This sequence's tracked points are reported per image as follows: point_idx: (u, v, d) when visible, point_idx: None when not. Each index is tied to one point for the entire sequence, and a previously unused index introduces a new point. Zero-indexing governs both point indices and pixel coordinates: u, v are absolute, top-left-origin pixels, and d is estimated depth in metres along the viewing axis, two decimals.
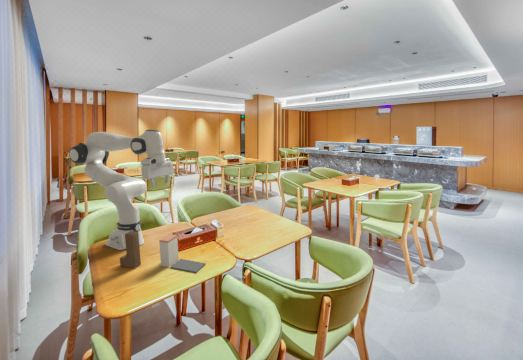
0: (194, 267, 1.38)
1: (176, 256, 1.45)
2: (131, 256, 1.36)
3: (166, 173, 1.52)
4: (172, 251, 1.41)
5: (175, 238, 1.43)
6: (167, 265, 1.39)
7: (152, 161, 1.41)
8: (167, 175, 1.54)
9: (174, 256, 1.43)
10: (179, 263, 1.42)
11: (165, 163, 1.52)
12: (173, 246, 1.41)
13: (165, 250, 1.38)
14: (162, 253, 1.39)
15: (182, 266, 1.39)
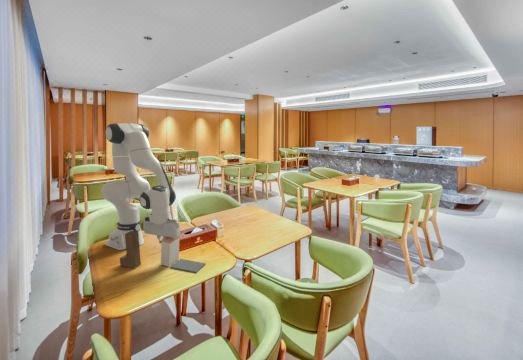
0: (194, 267, 1.38)
1: (177, 256, 1.45)
2: (131, 256, 1.36)
3: (165, 235, 1.39)
4: (173, 251, 1.41)
5: (177, 238, 1.42)
6: (167, 265, 1.39)
7: (146, 219, 1.39)
8: None
9: (175, 256, 1.43)
10: (179, 263, 1.42)
11: (165, 224, 1.38)
12: (175, 246, 1.41)
13: (166, 250, 1.38)
14: (163, 253, 1.39)
15: (182, 266, 1.39)
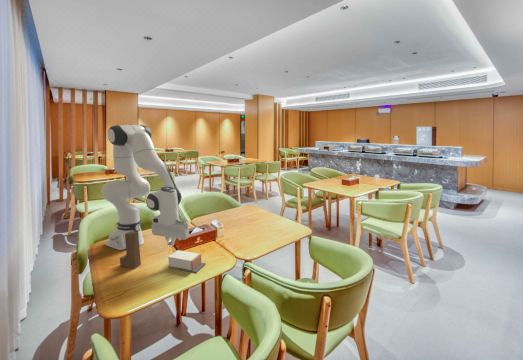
0: None
1: None
2: (131, 256, 1.36)
3: (174, 236, 1.37)
4: None
5: None
6: (169, 264, 1.39)
7: (154, 220, 1.37)
8: (171, 237, 1.39)
9: None
10: None
11: (174, 226, 1.36)
12: None
13: (183, 265, 1.36)
14: (179, 261, 1.36)
15: None
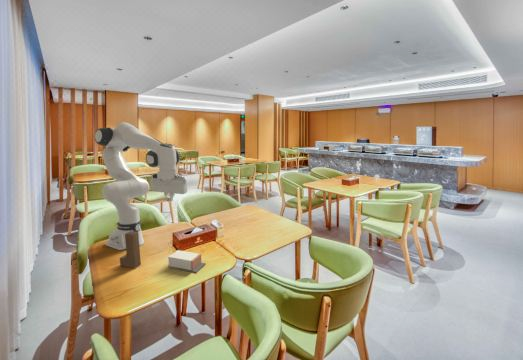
0: None
1: None
2: (131, 256, 1.36)
3: (173, 191, 1.42)
4: None
5: None
6: (169, 264, 1.39)
7: (153, 176, 1.43)
8: (170, 193, 1.44)
9: None
10: None
11: (173, 181, 1.41)
12: None
13: (183, 265, 1.36)
14: (179, 261, 1.36)
15: None
